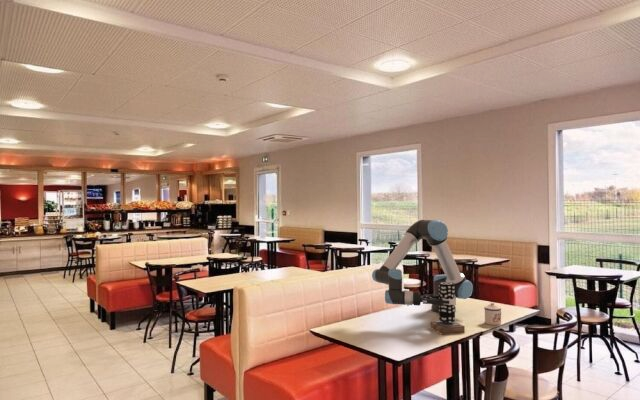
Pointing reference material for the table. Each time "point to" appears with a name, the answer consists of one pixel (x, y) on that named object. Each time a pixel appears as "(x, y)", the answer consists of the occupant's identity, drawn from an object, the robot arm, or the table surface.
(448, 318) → the white-spotted black cylinder
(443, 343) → the table surface
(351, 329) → the table surface
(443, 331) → the plinth
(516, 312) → the table surface
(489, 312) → the teacup with lid
